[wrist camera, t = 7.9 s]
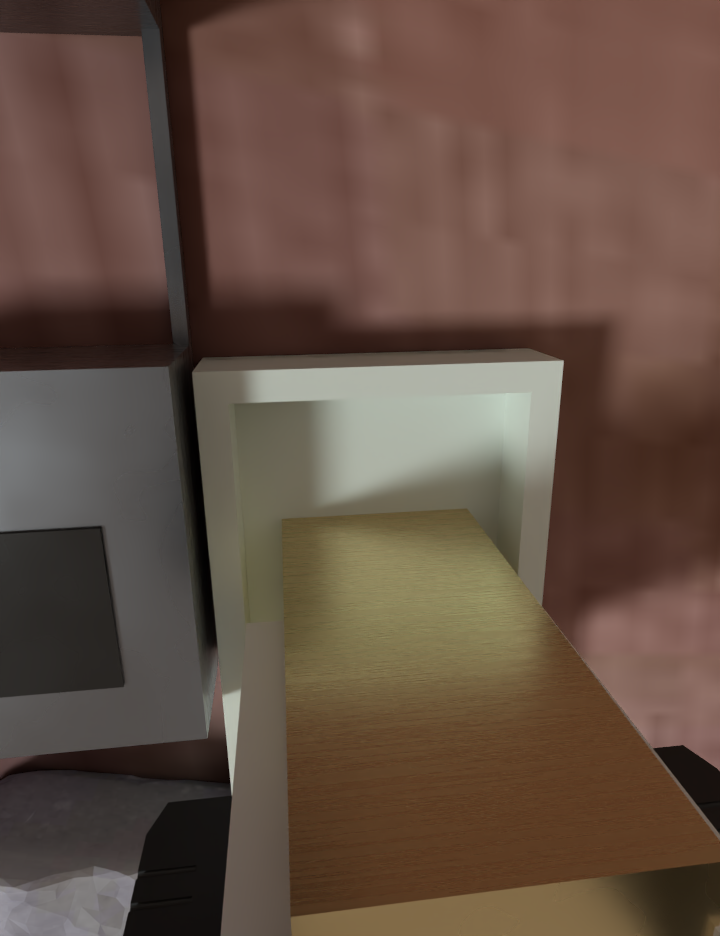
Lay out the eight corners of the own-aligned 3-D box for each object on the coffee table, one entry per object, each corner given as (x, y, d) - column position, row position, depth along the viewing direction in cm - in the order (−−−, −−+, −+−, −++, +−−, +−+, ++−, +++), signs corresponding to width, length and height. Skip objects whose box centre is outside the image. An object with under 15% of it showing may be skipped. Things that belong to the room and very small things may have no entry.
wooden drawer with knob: (281, 519, 14) (291, 918, 6) (467, 508, 15) (736, 862, 6) (289, 679, 15) (308, 1201, 7) (459, 664, 16) (671, 1136, 7)
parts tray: (202, 357, 13) (192, 372, 11) (528, 348, 14) (563, 360, 12) (239, 781, 17) (236, 840, 15) (499, 754, 17) (524, 807, 16)
